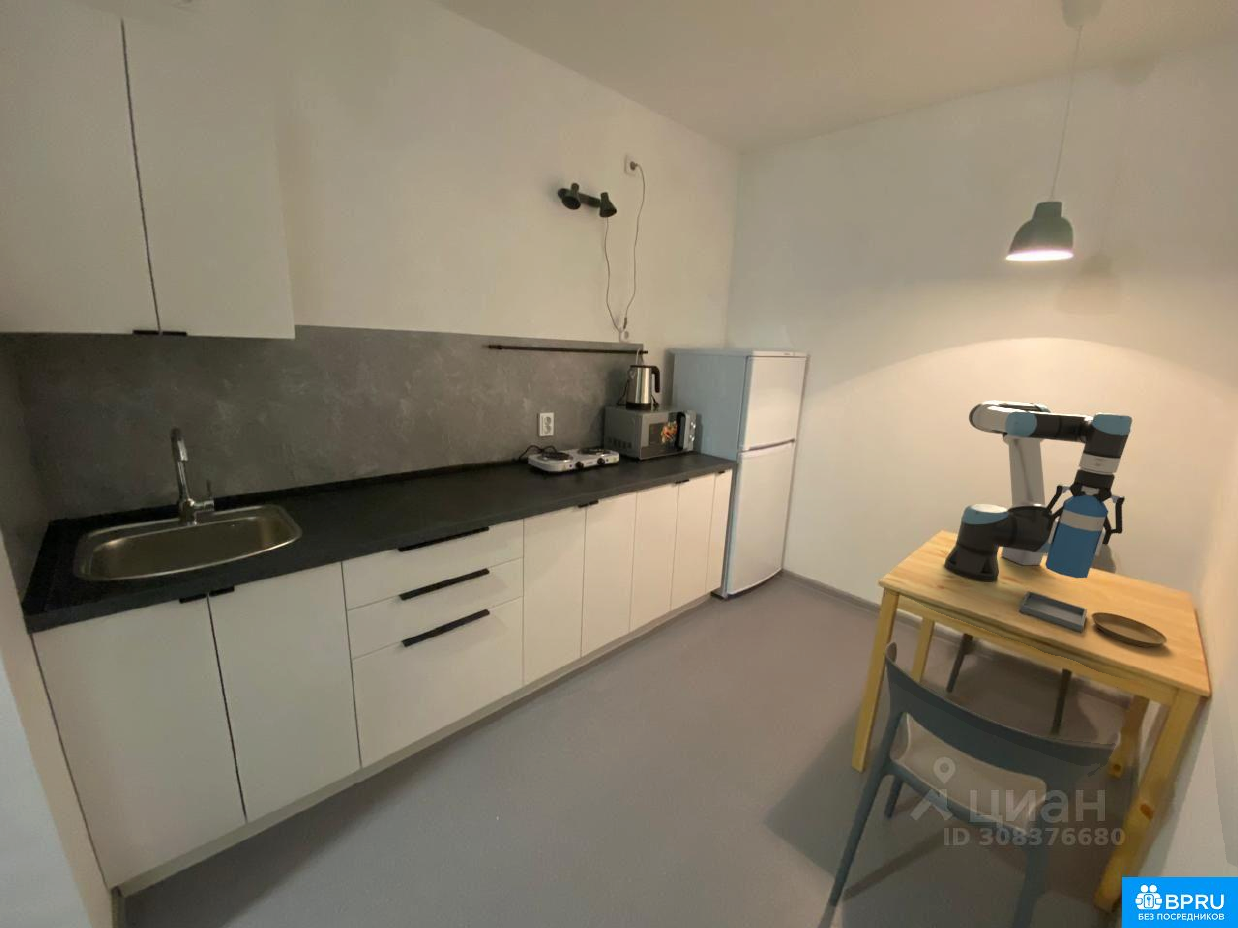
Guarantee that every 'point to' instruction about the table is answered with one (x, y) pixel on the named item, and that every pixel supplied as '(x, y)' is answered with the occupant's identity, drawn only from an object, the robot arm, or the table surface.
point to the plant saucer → (1128, 630)
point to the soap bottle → (1022, 556)
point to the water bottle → (1077, 535)
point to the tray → (1054, 611)
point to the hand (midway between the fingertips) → (1072, 547)
